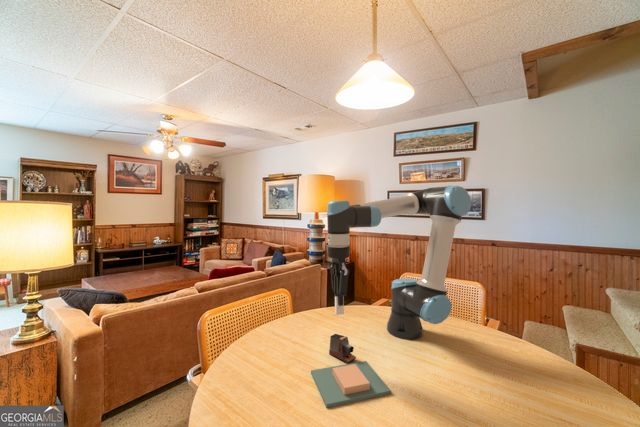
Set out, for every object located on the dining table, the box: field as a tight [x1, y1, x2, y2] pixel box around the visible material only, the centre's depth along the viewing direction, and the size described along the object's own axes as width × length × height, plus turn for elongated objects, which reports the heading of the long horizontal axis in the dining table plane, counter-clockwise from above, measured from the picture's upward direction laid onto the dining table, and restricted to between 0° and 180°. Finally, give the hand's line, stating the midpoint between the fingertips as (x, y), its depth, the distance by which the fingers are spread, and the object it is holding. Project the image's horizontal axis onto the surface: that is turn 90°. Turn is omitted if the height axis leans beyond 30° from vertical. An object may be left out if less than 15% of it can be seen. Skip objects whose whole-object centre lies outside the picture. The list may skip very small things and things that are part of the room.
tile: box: [332, 364, 370, 395], centre depth 83 cm, size 8×2×10 cm
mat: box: [310, 360, 392, 409], centre depth 84 cm, size 20×16×1 cm
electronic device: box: [328, 333, 357, 364], centre depth 99 cm, size 4×10×8 cm, turn 45°
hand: (339, 313), depth 94 cm, fingers closed
